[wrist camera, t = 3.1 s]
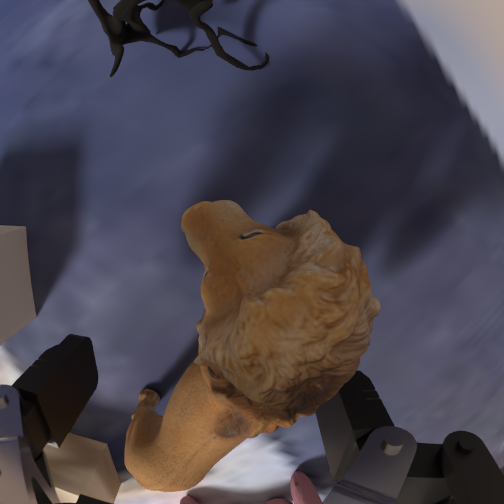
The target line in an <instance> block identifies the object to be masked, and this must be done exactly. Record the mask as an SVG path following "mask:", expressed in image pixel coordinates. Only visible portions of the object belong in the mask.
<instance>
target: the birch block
mask: <svg viewBox="0 0 504 504" xmlns="http://www.w3.org/2000/svg"><path fill="white" fill-rule="evenodd" d="M43 450H44V452H45V454H46V457H47V461H48V465H49V469H50V473H51V476H52V480H53V483H54V486H55V490H56V493H57V496H58V498H59V500H60V502H61V503H76V502H77V500H78V497H79V495H80V494H82V495H86V496H89V497H92V498H95V499H98V500H102V501H105V502H109V503H113V504H114V501H115V498H116V496H117V493H118V490H119V487H120V485H121V482H120V479H119V477H118V474H117V471H116V468H115V466H114V463H113V460H112V457H111V454H110V451H109V448H108V445H107V443H103V442H100V441H96V440H92V439H89V438H85V437H82V436H79V435H76V434H72V433H68V434H67V436H66V438H65V439H64V441H63V443H62V445H61V446H60V448H59V449H58V448H56V447H53V446H50V445H47V444H46V446H45V447H44V449H43Z"/></svg>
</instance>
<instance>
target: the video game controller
mask: <svg viewBox="0 0 504 504" xmlns="http://www.w3.org/2000/svg"><path fill="white" fill-rule="evenodd" d="M290 485H291V494H292V498H293V501H294V504H322V501H321V499H320V497H319V495H318V493H317V491H316V489H315V487H314V485H313V484H312V482H311V481H310V479H309V478H308V477H307V476H306V475H305V474H304V473H303V472H301V471H296V472H294V473H293V475H292V477H291V483H290ZM180 504H199V503H198V502H197V501H196V500H195V499H194V498H192V497H191V496H185V497H183V498H182V499H181V501H180ZM265 504H293V503H292V502H291V501H289V500H287V499H272V500H270V501H268V502H267V503H265Z"/></svg>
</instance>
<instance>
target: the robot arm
mask: <svg viewBox="0 0 504 504" xmlns="http://www.w3.org/2000/svg"><path fill="white" fill-rule="evenodd" d="M97 384H98V371H97V366H96V361H95V356H94V351H93V345H92V341H91V339H90V338H89V337H85V336H79V335H74V334H69V335H68V336H67V337H66V338H65V339H64V340H63V341H62V342H61V343H60V344H59V345H55V346H53V347H52V348H50V349H48V350H46V351H45V352H44V353H43V354H42V355H41V356H40V357H39V358H38V360H36V361H35V362H34V363H33V364H32V366H30V367H29V368H28V369H27V370H26V371H25V372H24V373H23V374H22V375H21V376H20V377H19V378H18V379H17V380H16V382H15V383H14V384H13V385H12V386H10V385H0V504H113V503H109V502H105V501H102V500H98V499H95V498H92V497H89V496H86V495H82V494H80V495H79V497H78V500H77V502H76V503H61V502H60V500H59V498H58V496H57V493H56V490H55V486H54V483H53V480H52V476H51V473H50V469H49V465H48V461H47V457H46V454H45V452H44V450H43V449H44V447H45V446H46V444H47V445H50V446H53V447H56V448H58V449H59V448H60V446H61V445H62V443H63V441H64V439H65V438H66V436H67V434H68V433H69V431H70V430H71V428H72V426H73V425H74V423H75V421H76V420H77V418H78V416H79V415H80V413H81V412H82V410H83V408H84V407H85V405H86V404H87V402H88V400H89V399H90V397H91V396H92V394H93V393H94V391H95V389H96V387H97ZM316 416H317V420H318V424H319V428H320V432H321V436H322V440H323V444H324V449H325V453H326V457H327V461H328V465H329V469H330V473H331V477H332V481H341V482H337V483H336V485H335V486H334V487H333V489H332V490H331V491H330V493H329V494H328V496H327V497H326V498H325V500H324V501H323V502H322V504H504V475H503V474H502V472H501V470H500V469H499V467H498V465H497V464H496V462H495V460H494V459H493V457H492V455H491V454H490V452H489V451H488V449H487V447H486V446H485V444H484V443H483V441H482V440H481V439H480V438H479V437H478V436H476V435H475V434H473V433H470V432H467V431H456V432H453V433H450V434H449V435H448V436H447V437H446V438H445V440H444V442H443V444H427V443H417V442H416V440H415V438H414V437H413V435H412V434H411V433H409V432H408V431H406V430H404V429H402V428H399V427H395V426H394V424H393V422H392V420H391V418H390V416H389V414H388V412H387V410H386V408H385V407H384V405H383V403H382V401H381V399H379V395H378V393H377V391H375V387H374V386H373V384H372V382H371V380H370V379H369V378H368V377H367V376H366V375H364V374H363V373H362V372H361V371H356V373H355V374H354V375H353V377H352V378H351V379H350V380H349V381H348V382H346V383H344V384H343V386H342V387H341V388H340V390H339V391H338V392H337V393H336V394H335V395H334V396H333V397H332V398H331V399H329V400H328V401H326V402H325V403H323V404H320V405H319V407H318V408H317V410H316Z"/></svg>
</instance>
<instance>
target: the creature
mask: <svg viewBox="0 0 504 504" xmlns="http://www.w3.org/2000/svg"><path fill="white" fill-rule="evenodd" d="M88 1H89V3H90V5H91V6H92V8H93V10H94V11H95V13H96V15H97V16H98V18H99V20H100V22H101V24H102V27H103V30H104V32H105V33H106V34H107V36H108V37H109V41H110V47H111V51H112V54H113V55H115V62H114V66H113V69H112V71H111V74H110V77H112V76H113V75H114V74H115V72H116V71H117V69H118V67H119V65H120V62H121V60H122V56H123V53H124V47H123V45H124V44H127V43H133V42H137V41H145V42H151V43H155V44H158V45H160V46H163V47H165V48H167V49H169V50H171V51H172V52H173V53H174V54H175V55H176V56H177V57H183V56H186V55H188V54H190V53H192V52H193V51H203V50H205V49H190V50H188V51H180V50H179V49H178V48H177V46H173V45H169V44H166V43H164V42H161V41H160V40H158V39H157V38H155V37H154V36H152V35H151V34H150V30H149V29H148V28H147V27H146V25H145V24H144V23H143V22H142V20H141V18H140V12H141V10H142V9H143V8H146V7H148V8H149V9H151V10H153V11H154V10H157V9H158V8H159V7H160V6H161V5H162V3H163V2H164V0H162V1H161V2H160V3H159V4H158V5H156V6H155V5H154V4H153V3H149V2H148V3H145V4H143V5H140V6H138V4H139V3H141V2H143V1H145V0H121V1H120V2H119V3H118V4H117V5H116V6H115V7H114V8H113V9H114V11H113V16H112V15H110V14H109V13H108V12H107V11H106V10H105V9H104V8H103V7H102V5H101V3H100V1H99V0H88ZM174 1H175V2H177V3H178V4H179V5H180V6H181V7H182V8H185V9H188V10H190V11H189V17H190V19H191V21H192V22H193V23H194V24H195V25H196V26H198V27H199V28H201V29H203V30H204V31H205V32H206V34H207V37H208V39H209V40H210V42H211V45H210V46H212V47H213V49H214V51H215V53H216V54H217V56H219V57H220V58H222V59H224V60H225V61H227V62H229V63H230V64H232V65H234V66H235V67H238V68H241V69H244V70H257V69H261V68H263V67H265V66H266V64H267V62H268V60H269V56H268V54H267V53H266V60H265V61H264V63H263V64H262V65H257V66H252V67H248V66H247V65H245V64H243V63H242V62H240V61H238V60H237V59H235V58H234V57H232V56H230V55H229V54H227V53H225V51H224V50H223V48H222V46H221V45H220V43H219V41H218V37H219V36H221V35H222V34H223V35H227V36H230V37H233V38H235V39H237V40H240V41H242V42H244V43H247V44H250V45H253V46H257V45H256V44H254V43H252V42H249V41H246V40H243V39H241V38H238V37H235V36H233V35H231V34H229V33H227V32H226V31H224V30H222V29H221V28H219V27H218V36H216V34H215V32H214V31H213V29H212V28H211V27H210V26H209V25H208V24H206V23H204V22H202V21H201V20H200V16H201V15H202V14H203V13H205V12H206V11H208V10H209V9H210V8H211V7H212V6H213V3H212V0H174ZM125 22H127V25H126V23H125ZM210 46H209V47H210ZM209 47H207V48H209ZM207 48H206V49H207Z"/></svg>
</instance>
